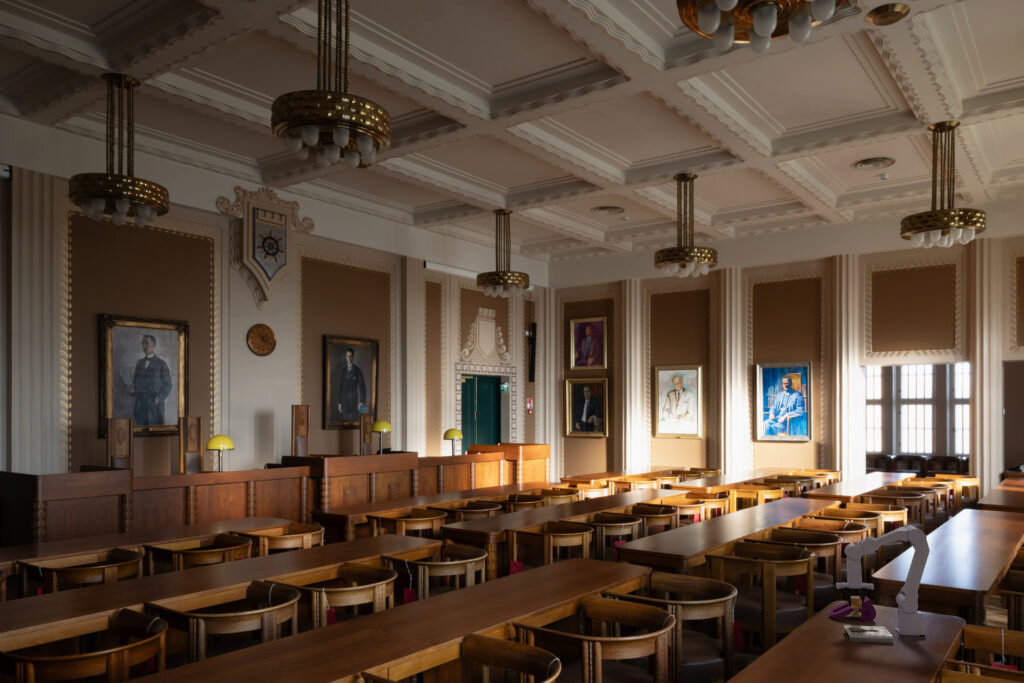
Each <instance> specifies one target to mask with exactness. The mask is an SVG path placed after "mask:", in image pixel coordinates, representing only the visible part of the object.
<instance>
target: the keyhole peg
mask: <svg viewBox="0 0 1024 683" xmlns="http://www.w3.org/2000/svg"><path fill="white" fill-rule="evenodd" d="M859 596H860V595H857V596H856V595H851V606H850V607H851V608H853V612H851V614H850V616H851V617H855V618H859V617H861V613H859V612H858V608H859V609H862V599H861V598H860V597H859Z"/></svg>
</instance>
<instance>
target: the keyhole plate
mask: <svg viewBox="0 0 1024 683" xmlns="http://www.w3.org/2000/svg"><path fill="white" fill-rule="evenodd" d="M843 633H844V634H845V633H848V634H847V635H849V642H850V641H851V642H850V643H861V642H876V643H875V644H889V643H893V644H894V636H893V635H892V633H890V631H889V630H888V629H887V628H886V627H885V626H875V625H874V626H871V625H869V626H868V625H845V624H844V625H843ZM878 642H879V643H878Z"/></svg>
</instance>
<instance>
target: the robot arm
mask: <svg viewBox="0 0 1024 683" xmlns="http://www.w3.org/2000/svg"><path fill="white" fill-rule="evenodd" d="M927 538H928V537H927V535H926V534H925V533H924V531H922V530H921V529H920V528H918V527H916V526H914V525H912V524H906V525H905V526H900V527H897V528H895V529H894V530H891V531H888V533H885V534H883V535H881V536H878V537H876V538H875V537H873V536H870V537H869V536H866V537H864V539H863V540H860V541H854V543H849V544H847V545H846V546H845V548H844V550H843V551H844V554H845V555H846V579H847V582H836V583H835V587H836V589H837V590H838V589H842V590H843V592H844V594H845V597H846V600H847V601H848V605H849V606H851V596H852V591H851V589H855V590H856V589H857V590H858V592H859V596H860V598H861V599H862V607H863V603H864V599H865V597H866V596H867V595H868V592H869V591H868V590H874V589H875V587H874V584H873V583H869V582H868V583H867V582H863V578H862V577H863V576H862V575H863V574H862V563H861V561H862V560H861V558H862V557H863V556H865V555H869V554H871V553H874V552H876V551H878V550H879V549H880V546H883V545H886V544H890V543H893V542H895V541H903V542H909V543H910V545H911V546H912V547H913V549H914V553H913V555H912V559H911V562H910V565H909V569H908V572H907V576H906V579H905V583H904V585H903V586H902V587H901V588H900V591H899V592H898V593H897V595H896V596H895V603H896V604H897V606H898V607H897V621H898V627H895V630H896V631H897V632H898V634H900V635H902V636H920V635H925V636H926V633H925V617H924V613H923V612H922V611H920V610H919V611H918V608H919V604H918V599H919V593H918V590H919V588H920V584H921V580H922V577H923V574H924V572H925V571H924V570H925V568H926V564H927V562H928V558H929V555H930V549H931V548H930V547H929V544H928V540H927Z"/></svg>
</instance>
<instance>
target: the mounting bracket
mask: <svg viewBox="0 0 1024 683" xmlns="http://www.w3.org/2000/svg"><path fill="white" fill-rule="evenodd" d="M858 596H859V597H860V595H858ZM851 612H853V608H851V607H850V606H849V605H848V600H847V601H845V602H843V603H841V604H838V605H836V606H834V607H832V608H831V609H830V610H829V612H828V614H829V615H830V618H832V619H833V618H834V620H837V619H841V618H844V617H846V616H849V615H851ZM858 612H859V613H861V617H858V618H859V619H860V620H861V621H862V622H872V621H874V619H876V616H877V610H876V608H875V606H874V604H873V602H872V601H871V599H870V598H869V597H868V596H867V595H866V597H865V599H864V603H863V607H862V609H859V608H858Z"/></svg>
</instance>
